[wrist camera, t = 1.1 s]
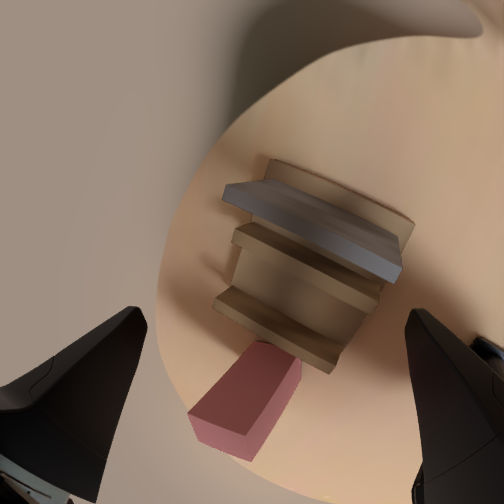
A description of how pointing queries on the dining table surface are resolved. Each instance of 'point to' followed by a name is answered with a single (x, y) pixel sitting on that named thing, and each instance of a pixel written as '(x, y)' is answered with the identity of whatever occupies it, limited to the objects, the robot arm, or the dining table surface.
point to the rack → (309, 261)
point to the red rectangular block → (247, 401)
